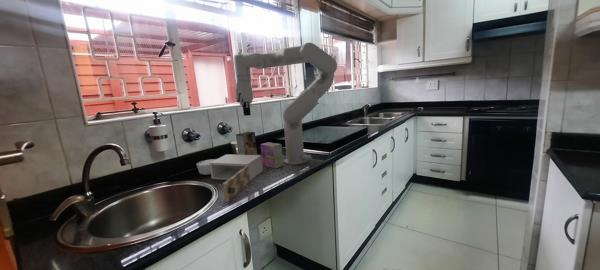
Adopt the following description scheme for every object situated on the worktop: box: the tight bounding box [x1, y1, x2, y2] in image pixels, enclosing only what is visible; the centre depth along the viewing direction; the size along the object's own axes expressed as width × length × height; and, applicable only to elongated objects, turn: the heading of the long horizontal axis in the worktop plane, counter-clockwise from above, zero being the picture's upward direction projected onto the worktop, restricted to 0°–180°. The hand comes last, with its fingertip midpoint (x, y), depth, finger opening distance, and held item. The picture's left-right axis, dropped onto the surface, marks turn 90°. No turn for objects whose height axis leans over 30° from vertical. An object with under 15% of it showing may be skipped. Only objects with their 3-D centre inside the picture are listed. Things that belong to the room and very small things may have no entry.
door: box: [222, 166, 251, 203], centre depth 103 cm, size 20×3×7 cm, turn 167°
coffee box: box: [235, 131, 258, 155], centre depth 146 cm, size 9×6×16 cm
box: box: [260, 141, 284, 169], centre depth 133 cm, size 10×6×12 cm, turn 47°
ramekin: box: [196, 158, 217, 176], centre depth 131 cm, size 11×11×5 cm
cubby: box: [210, 153, 264, 181], centre depth 123 cm, size 20×14×8 cm
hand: (247, 115), depth 132 cm, fingers closed
